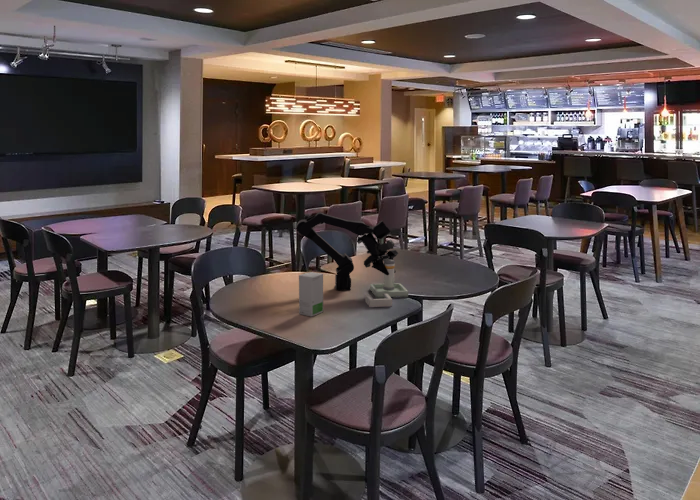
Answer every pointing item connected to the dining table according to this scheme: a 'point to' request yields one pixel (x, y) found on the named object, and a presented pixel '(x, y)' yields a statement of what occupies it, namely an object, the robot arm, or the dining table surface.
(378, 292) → the tray
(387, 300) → the tray
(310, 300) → the skincare box
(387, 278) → the white cylinder
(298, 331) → the dining table surface
